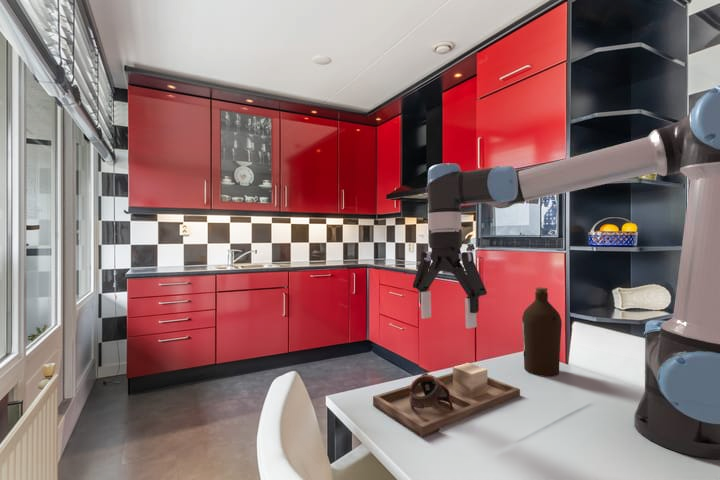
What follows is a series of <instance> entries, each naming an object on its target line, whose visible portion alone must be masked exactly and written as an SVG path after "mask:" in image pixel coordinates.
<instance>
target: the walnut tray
mask: <svg viewBox="0 0 720 480" xmlns="http://www.w3.org/2000/svg"><path fill="white" fill-rule="evenodd" d="M436 378H437V379H438V380H440V381H441V382H443V383H444V384H445V385H446V387H447V388H448V390H449V394H450V397H451V399H452V406H453V409H451V406H450V404H449V403H448V402H446V401H441V400H440V401H438V405H439V406H435V405H433V406H430V407H427V408H425V407H424V408H423V409H421V408H416V407H413V408H411V405H410V401H409V399H410V392H411V391H410V390H409V388H410V385H411V384H408V385H406V386H402V387H400V388H397V389H393V390H389V391H386V392H383V393H379V394H375V395H372V406H374V407H375V408H377V410H379V411H381V412H383V413H384V414H385V415H387V416H389V417H390V418H392V419H393V420H394V421H396V422H398V423H399V424H400V425H402V426H404V427H406V429H409V430H410V431H412V432H413V433H414V434H416V435H418V436H419V437H421V438H426V437H428V436H431V435H433V434H435V433H438V432H440V431H441V430H442V429H441V428H444V427H446V426H448V425H452V424H454V423H456V422H458V421H461V420H463V419H466V418H469V417H471V416H473V415H477V414H478V413H481V412H483V411H486V410H488V409H491V408H493V407H496V406H498V405H500V404H503V403H506V402H508V401H510V400H513V399H516V398H518V397H520V396H521V389H520V388H518V387H515V386H512V385H510V384H507V383H504V382H502V381H499V380H497V379H493V377H489V376H487V393H486V394H483V395H480V396H478V397H475V398H472V399H471V398H469V397H467V396H465V395H463V394H460V393H458V392H456V391H454V390H453V372H451V373H447V374H444V375H440V376H437V377H436ZM433 383H435V382H433ZM413 394H414V395H416V396H420V397H421V396H425V395H424V393H423V389H422V388H421V386H420V384H418V385H417V386H416V387H415V388H414V390H413Z"/></svg>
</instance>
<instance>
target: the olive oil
mask: <svg viewBox="0 0 720 480" xmlns="http://www.w3.org/2000/svg"><path fill="white" fill-rule="evenodd" d="M534 294H535V295H534V296H535V299H534V301H532V303H531V304H530V305H528V306H527V307H526V308H525V310H524V311H523V313H522V318H521V323H522V325H521V326H522V340H523V341H522V342H523V362H524V363H523V366H524V370H525V371H526V372H527V373H529V374H531V375H532V374H533V375H537V376H541V377H542V376H543V377H556V376H558V375H559V374H560V361H561V360H560V358H561V356H560V355H561V353H560V352H561V341H562V339H561V338H562V337H561V336H562V326H563V325H562V323H563V322H562V317H561V314H560V313H559V311H558V310H557V309H556V308H555V307H554V306H553V305H552V304H551V302H549V300H548V299H549V293H548V288H546V287H540V286H539V287H535V292H534Z"/></svg>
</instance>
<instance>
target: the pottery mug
mask: <svg viewBox="0 0 720 480" xmlns="http://www.w3.org/2000/svg"><path fill="white" fill-rule="evenodd" d="M433 382H435V383H433ZM418 384H420V386H421V388H422V389H423V393H424V395H425V396H421V397H420V396H416V395H414V394H413V390H414V388H415V387H416V386H417V385H418ZM409 385H410V388H409V390H410V391H411V392H410V399H409V401H410V405H411V408H413V407H416V408H421V409H423V408H424V407H425V408H427V407H430V406H433V405H435V406H439V405H438V401H440V400H441V401H446V402H448V403H449V404H450V406H451V409H453V406H452V399H451V397H450V394H449V390H448V388H447V387H446V385H445V384H444V383H443V382H441V381H440V380H438V379H437V377H436V376H434V375H432V374H429V373H427V372H424V373H422V374H421V375H420V376H418V377H417V378H415V379H414V380H413V381H412V382H411V384H409Z"/></svg>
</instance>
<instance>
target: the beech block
mask: <svg viewBox="0 0 720 480" xmlns="http://www.w3.org/2000/svg"><path fill="white" fill-rule="evenodd" d="M452 373H453V390H454V391H456V392H458V393H460V394H463V395H465V396H467V397H469V398H471V399H472V398H475V397H478V396H480V395H483V394H486V393H487V377H488V369H487V368H485V367H482V366H479V365H476V364H473V363H470V362H465V363H462V364H460V365H459V364H458V365H455V366H453V367H452Z"/></svg>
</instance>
